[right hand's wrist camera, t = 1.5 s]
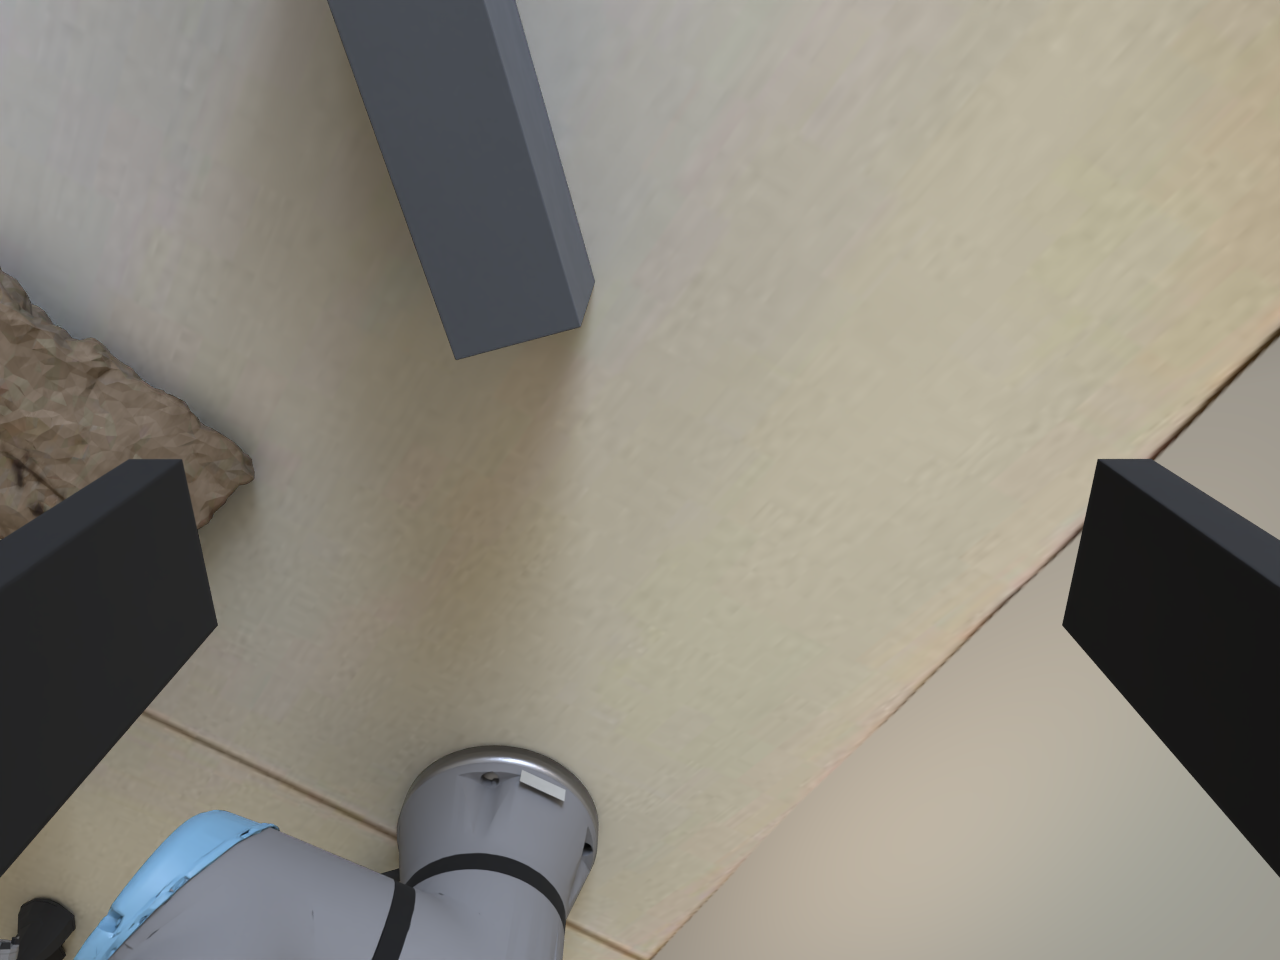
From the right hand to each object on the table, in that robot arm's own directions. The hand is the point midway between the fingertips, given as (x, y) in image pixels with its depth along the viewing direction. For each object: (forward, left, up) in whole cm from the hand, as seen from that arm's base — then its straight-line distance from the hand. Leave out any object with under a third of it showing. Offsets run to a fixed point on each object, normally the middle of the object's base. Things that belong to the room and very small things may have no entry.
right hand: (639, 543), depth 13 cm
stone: (-33, +17, -40) cm, 55 cm away
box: (0, +13, -40) cm, 42 cm away
